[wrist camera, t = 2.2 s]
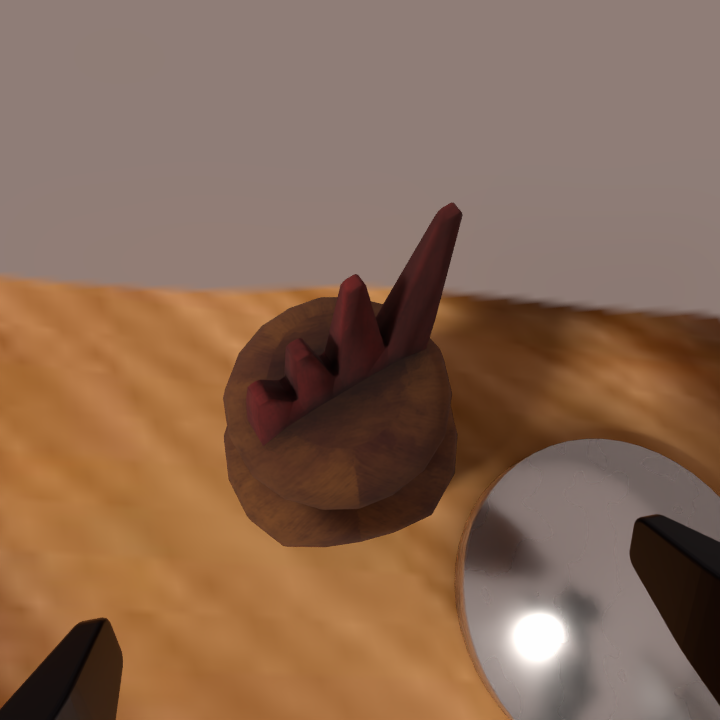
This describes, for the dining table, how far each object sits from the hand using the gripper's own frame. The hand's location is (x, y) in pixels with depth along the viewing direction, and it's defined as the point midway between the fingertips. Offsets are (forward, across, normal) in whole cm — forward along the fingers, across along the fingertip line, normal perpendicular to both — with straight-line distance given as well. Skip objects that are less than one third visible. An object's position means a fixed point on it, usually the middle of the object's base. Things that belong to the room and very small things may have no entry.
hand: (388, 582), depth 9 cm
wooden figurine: (+11, 0, +5) cm, 12 cm away
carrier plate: (+6, -9, +10) cm, 14 cm away
